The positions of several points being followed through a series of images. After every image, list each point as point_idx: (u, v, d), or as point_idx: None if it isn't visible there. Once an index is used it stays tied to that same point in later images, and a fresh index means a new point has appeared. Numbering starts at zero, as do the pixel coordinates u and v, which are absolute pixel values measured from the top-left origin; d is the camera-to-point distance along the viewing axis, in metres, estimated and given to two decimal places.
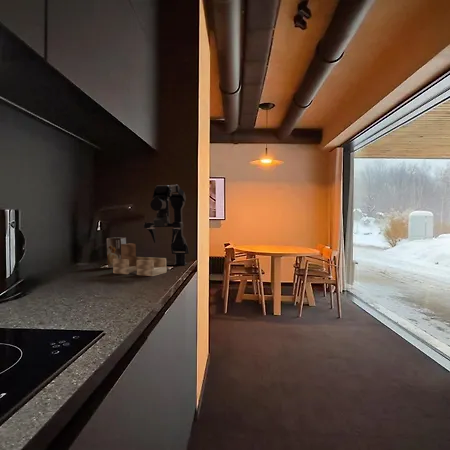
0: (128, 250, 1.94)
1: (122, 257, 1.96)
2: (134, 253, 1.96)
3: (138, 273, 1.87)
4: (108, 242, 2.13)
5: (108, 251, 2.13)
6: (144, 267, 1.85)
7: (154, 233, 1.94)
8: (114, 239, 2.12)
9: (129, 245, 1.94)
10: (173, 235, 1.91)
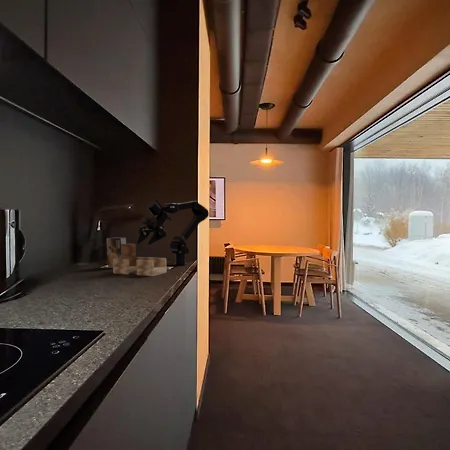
0: (128, 250, 1.94)
1: (122, 257, 1.96)
2: (134, 253, 1.96)
3: (138, 273, 1.87)
4: (108, 242, 2.13)
5: (108, 251, 2.13)
6: (144, 267, 1.85)
7: (142, 237, 2.08)
8: (114, 239, 2.12)
9: (129, 245, 1.94)
10: (151, 237, 2.00)
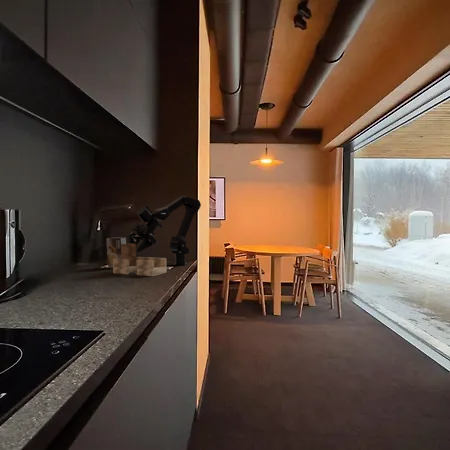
0: (128, 250, 1.94)
1: (122, 257, 1.96)
2: (134, 253, 1.96)
3: (138, 273, 1.87)
4: (108, 242, 2.13)
5: (108, 251, 2.13)
6: (144, 267, 1.85)
7: None
8: (114, 239, 2.12)
9: (129, 245, 1.94)
10: (141, 244, 1.96)
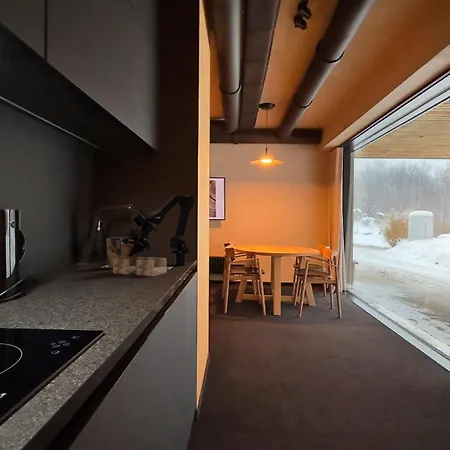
0: (128, 250, 1.94)
1: (122, 257, 1.96)
2: None
3: (138, 273, 1.87)
4: (108, 242, 2.13)
5: (108, 251, 2.13)
6: (144, 267, 1.85)
7: None
8: (114, 239, 2.11)
9: (129, 245, 1.94)
10: (132, 249, 1.94)
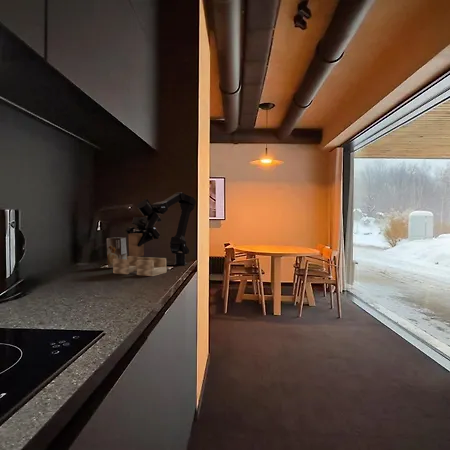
0: (137, 240, 1.90)
1: (130, 247, 1.92)
2: None
3: (138, 273, 1.87)
4: (108, 242, 2.13)
5: (108, 251, 2.13)
6: (144, 267, 1.85)
7: None
8: (114, 239, 2.12)
9: (138, 234, 1.91)
10: (141, 238, 1.92)
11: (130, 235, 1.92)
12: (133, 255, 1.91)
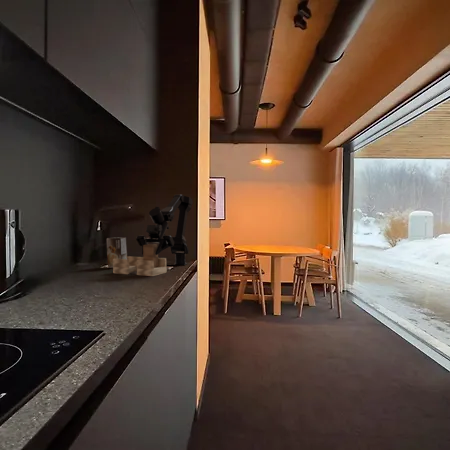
0: (153, 251, 1.88)
1: (145, 258, 1.89)
2: None
3: (138, 273, 1.87)
4: (108, 242, 2.13)
5: (108, 251, 2.13)
6: (144, 267, 1.85)
7: None
8: (114, 239, 2.12)
9: (154, 246, 1.88)
10: (158, 247, 1.89)
11: (145, 246, 1.88)
12: None
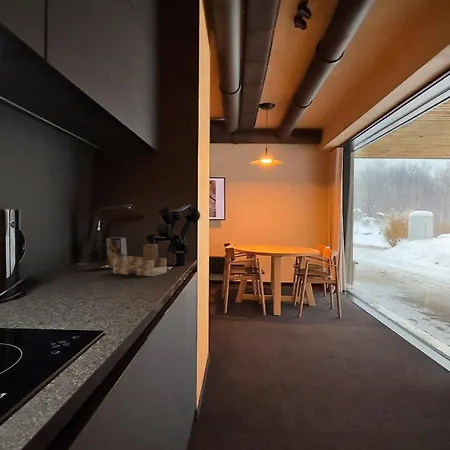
0: (153, 251, 1.88)
1: (145, 258, 1.89)
2: (157, 254, 1.91)
3: (138, 273, 1.87)
4: (108, 242, 2.13)
5: (108, 251, 2.13)
6: (144, 267, 1.85)
7: None
8: (114, 239, 2.12)
9: (154, 246, 1.88)
10: (170, 245, 1.98)
11: (145, 246, 1.88)
12: None
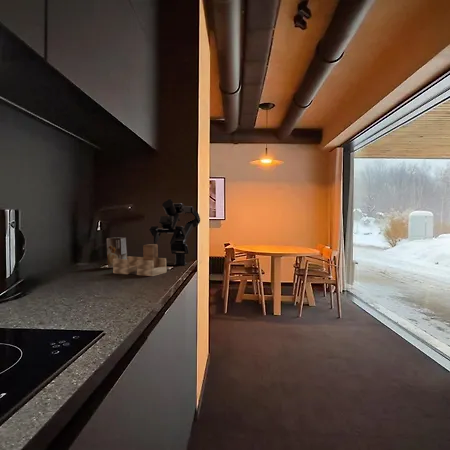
0: (153, 251, 1.88)
1: (145, 258, 1.89)
2: (157, 254, 1.91)
3: (138, 273, 1.87)
4: (108, 242, 2.13)
5: (108, 251, 2.13)
6: (144, 267, 1.85)
7: (157, 237, 2.05)
8: (114, 239, 2.12)
9: (154, 246, 1.88)
10: (173, 236, 2.01)
11: (145, 246, 1.88)
12: None
